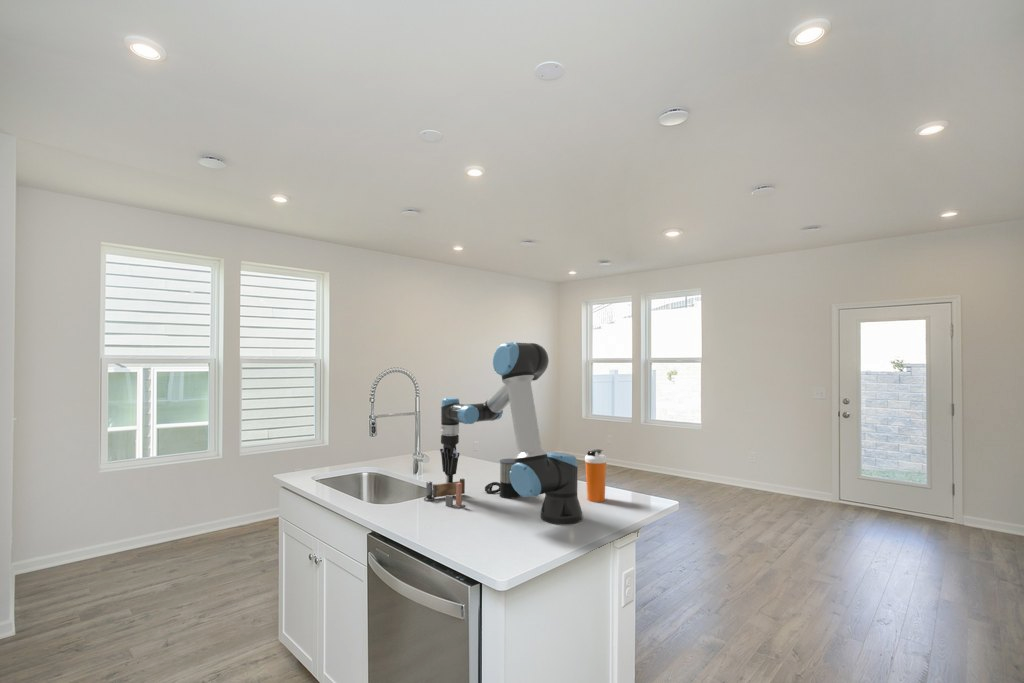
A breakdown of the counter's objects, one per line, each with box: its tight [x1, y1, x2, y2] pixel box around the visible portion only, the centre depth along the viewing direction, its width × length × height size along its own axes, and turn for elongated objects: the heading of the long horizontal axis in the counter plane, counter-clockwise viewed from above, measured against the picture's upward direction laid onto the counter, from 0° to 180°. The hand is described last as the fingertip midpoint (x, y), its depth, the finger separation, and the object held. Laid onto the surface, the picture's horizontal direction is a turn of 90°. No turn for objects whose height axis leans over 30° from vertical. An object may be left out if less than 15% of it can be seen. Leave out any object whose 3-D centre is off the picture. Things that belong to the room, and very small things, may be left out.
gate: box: [432, 478, 466, 499], centre depth 208 cm, size 14×2×6 cm, turn 117°
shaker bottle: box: [584, 449, 608, 503], centre depth 204 cm, size 9×9×20 cm
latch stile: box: [445, 483, 466, 509], centre depth 195 cm, size 7×4×9 cm, turn 53°
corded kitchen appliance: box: [484, 458, 522, 499], centre depth 213 cm, size 14×16×15 cm
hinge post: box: [423, 481, 436, 502], centre depth 204 cm, size 4×4×7 cm
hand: (449, 490), depth 211 cm, fingers closed
